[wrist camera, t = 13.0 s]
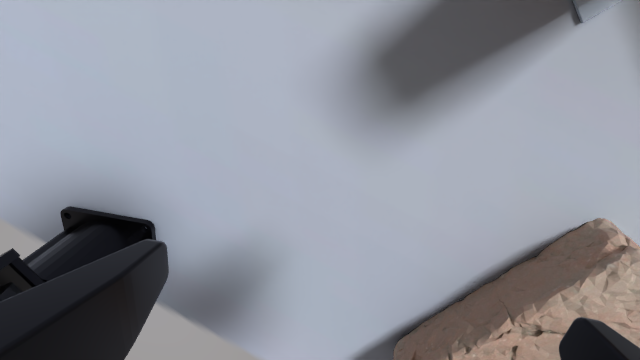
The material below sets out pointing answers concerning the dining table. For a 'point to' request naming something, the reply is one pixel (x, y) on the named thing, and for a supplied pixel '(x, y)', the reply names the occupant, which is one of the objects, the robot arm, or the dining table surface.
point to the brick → (539, 302)
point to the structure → (592, 8)
